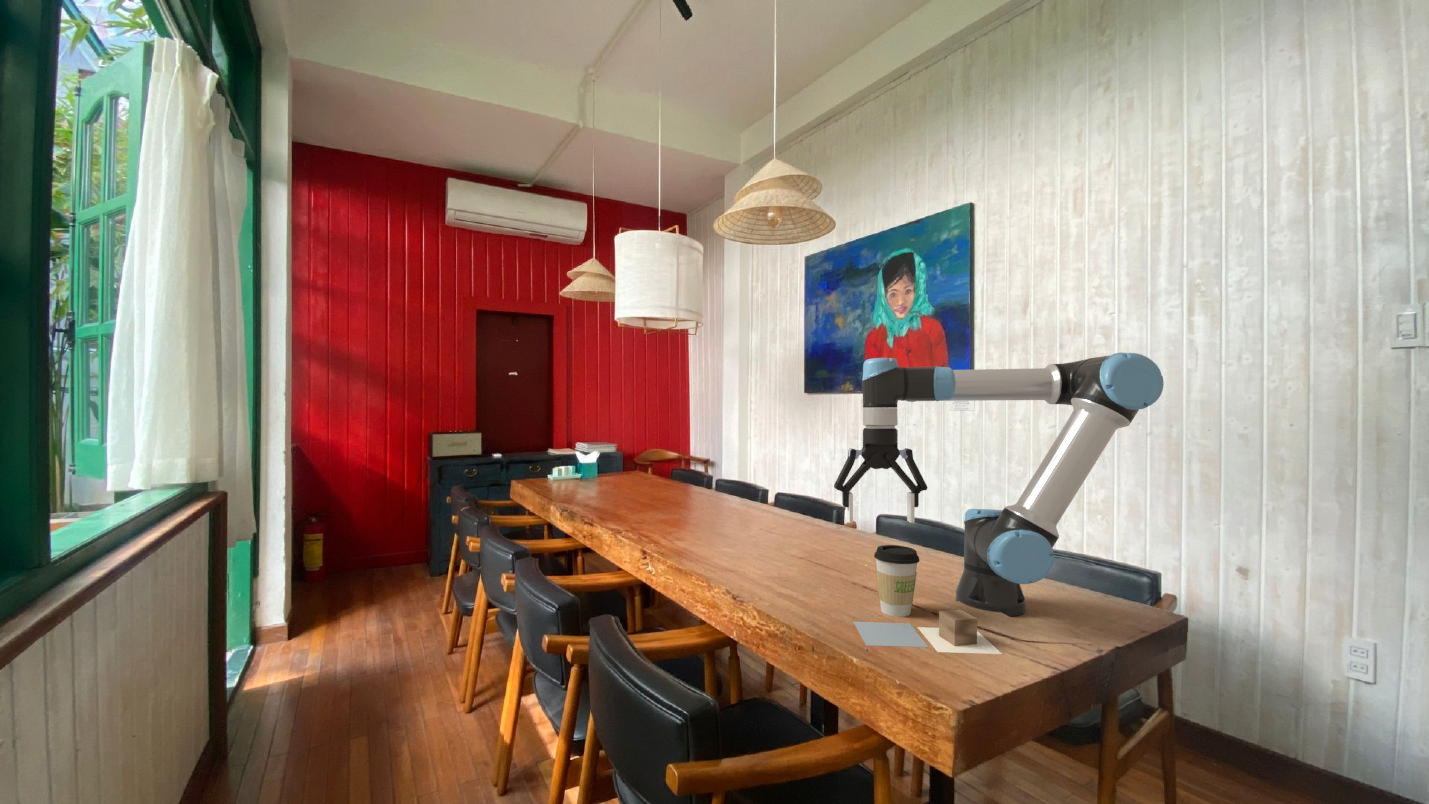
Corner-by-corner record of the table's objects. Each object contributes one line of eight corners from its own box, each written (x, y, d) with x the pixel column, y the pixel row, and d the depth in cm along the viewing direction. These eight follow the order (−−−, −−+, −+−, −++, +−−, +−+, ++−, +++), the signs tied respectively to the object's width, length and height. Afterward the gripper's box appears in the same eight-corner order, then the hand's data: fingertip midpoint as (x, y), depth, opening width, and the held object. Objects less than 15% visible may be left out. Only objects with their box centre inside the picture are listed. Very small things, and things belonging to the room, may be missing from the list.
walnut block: (960, 634, 116) (960, 609, 116) (976, 644, 111) (977, 618, 112) (938, 635, 115) (939, 611, 115) (954, 646, 110) (954, 620, 110)
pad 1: (909, 628, 122) (909, 623, 122) (928, 652, 110) (928, 647, 110) (853, 626, 122) (853, 621, 122) (866, 650, 110) (866, 645, 110)
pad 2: (975, 633, 119) (975, 629, 119) (1002, 659, 107) (1002, 654, 107) (917, 631, 120) (917, 627, 120) (937, 657, 108) (937, 651, 108)
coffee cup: (921, 626, 123) (923, 556, 123) (874, 621, 125) (875, 553, 125) (915, 610, 132) (916, 545, 133) (871, 606, 134) (872, 543, 134)
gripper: (929, 426, 131) (930, 518, 131) (821, 426, 131) (821, 518, 131) (942, 427, 124) (942, 525, 123) (827, 427, 124) (827, 525, 124)
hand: (880, 522), depth 127 cm, fingers open, 13 cm apart
